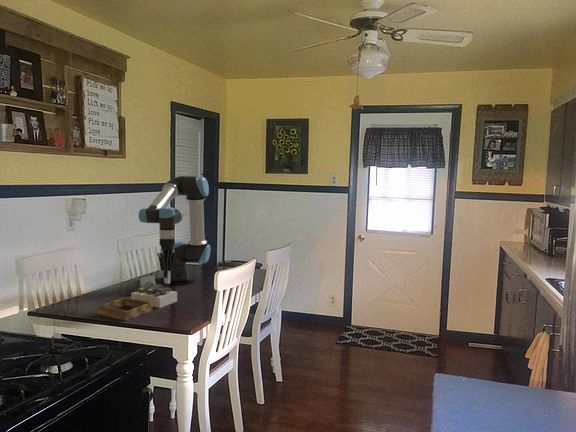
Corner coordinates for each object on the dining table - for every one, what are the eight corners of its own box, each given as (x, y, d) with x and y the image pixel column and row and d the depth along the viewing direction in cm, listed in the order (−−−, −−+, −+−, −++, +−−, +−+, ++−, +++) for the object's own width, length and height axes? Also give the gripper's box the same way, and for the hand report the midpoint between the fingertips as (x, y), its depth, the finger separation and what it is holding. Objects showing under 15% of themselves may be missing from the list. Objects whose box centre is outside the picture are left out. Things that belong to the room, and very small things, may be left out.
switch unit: (149, 296, 258) (149, 285, 258) (177, 301, 251) (177, 289, 251) (131, 303, 246) (131, 291, 245) (159, 307, 238) (159, 296, 238)
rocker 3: (164, 290, 250) (165, 287, 250) (171, 291, 248) (171, 288, 248) (154, 291, 243) (155, 288, 243) (161, 292, 241) (161, 289, 241)
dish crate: (124, 305, 241) (124, 297, 240) (152, 310, 234) (152, 302, 233) (97, 314, 225) (97, 306, 224) (126, 320, 218) (126, 311, 217)
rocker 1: (148, 284, 254) (147, 282, 254) (154, 285, 253) (153, 283, 252) (138, 291, 247) (137, 289, 247) (144, 292, 246) (143, 289, 245)
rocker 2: (156, 286, 252) (156, 283, 252) (162, 287, 251) (162, 284, 250) (146, 292, 245) (146, 289, 245) (152, 293, 244) (152, 290, 243)
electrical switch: (142, 295, 261) (141, 278, 261) (137, 294, 265) (136, 277, 264) (157, 292, 269) (156, 275, 268) (151, 291, 272) (150, 275, 272)
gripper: (169, 235, 253) (169, 279, 256) (152, 238, 241) (153, 285, 244) (180, 236, 250) (180, 281, 253) (164, 240, 238) (165, 286, 241)
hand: (167, 283), depth 248 cm, fingers closed
